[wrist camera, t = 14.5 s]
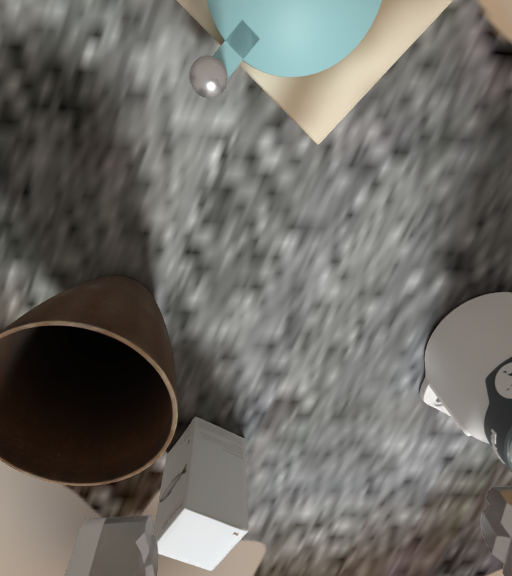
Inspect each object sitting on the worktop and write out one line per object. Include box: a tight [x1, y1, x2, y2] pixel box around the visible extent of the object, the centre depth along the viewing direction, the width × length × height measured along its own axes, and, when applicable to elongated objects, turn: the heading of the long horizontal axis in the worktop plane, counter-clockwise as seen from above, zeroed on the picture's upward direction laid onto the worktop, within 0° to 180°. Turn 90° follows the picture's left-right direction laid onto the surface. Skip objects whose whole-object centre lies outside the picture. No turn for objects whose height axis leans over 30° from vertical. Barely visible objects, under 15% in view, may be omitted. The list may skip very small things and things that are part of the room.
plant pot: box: [0, 275, 178, 486], centre depth 39 cm, size 15×15×16 cm
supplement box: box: [153, 417, 249, 571], centre depth 49 cm, size 7×7×13 cm
